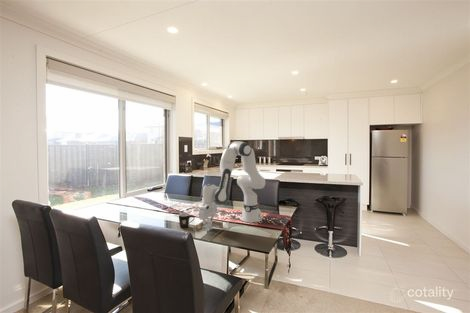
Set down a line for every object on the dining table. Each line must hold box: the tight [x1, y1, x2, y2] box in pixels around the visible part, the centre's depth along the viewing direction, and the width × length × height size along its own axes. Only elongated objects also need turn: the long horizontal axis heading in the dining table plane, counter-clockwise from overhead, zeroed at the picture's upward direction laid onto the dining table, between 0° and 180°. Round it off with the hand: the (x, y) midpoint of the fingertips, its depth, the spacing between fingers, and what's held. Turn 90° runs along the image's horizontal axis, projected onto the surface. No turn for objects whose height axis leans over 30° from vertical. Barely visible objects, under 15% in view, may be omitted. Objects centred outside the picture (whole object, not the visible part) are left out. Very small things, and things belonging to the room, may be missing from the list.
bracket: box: [201, 219, 214, 232], centre depth 182 cm, size 7×5×6 cm
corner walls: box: [193, 218, 224, 232], centre depth 182 cm, size 17×16×4 cm
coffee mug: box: [178, 212, 195, 229], centre depth 186 cm, size 12×9×10 cm
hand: (208, 221), depth 184 cm, fingers open, 8 cm apart
